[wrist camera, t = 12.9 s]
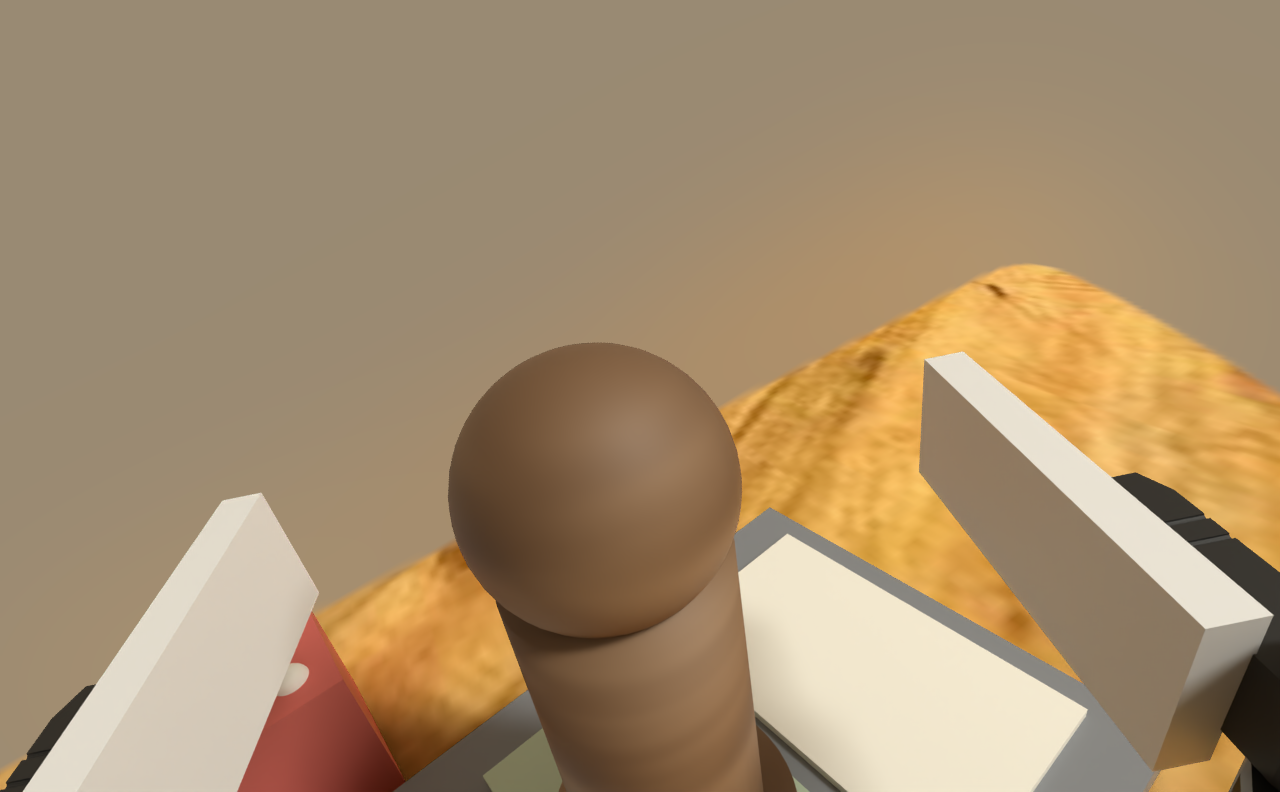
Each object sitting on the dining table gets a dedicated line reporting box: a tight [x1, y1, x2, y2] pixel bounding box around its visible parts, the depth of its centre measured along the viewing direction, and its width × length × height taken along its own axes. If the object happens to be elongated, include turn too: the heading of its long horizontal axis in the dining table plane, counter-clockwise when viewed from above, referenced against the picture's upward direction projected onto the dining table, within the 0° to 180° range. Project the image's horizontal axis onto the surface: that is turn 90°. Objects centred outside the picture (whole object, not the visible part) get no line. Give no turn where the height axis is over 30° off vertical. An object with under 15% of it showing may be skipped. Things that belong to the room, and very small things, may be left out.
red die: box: [237, 611, 405, 792], centre depth 18 cm, size 4×4×5 cm
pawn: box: [448, 343, 797, 792], centre depth 12 cm, size 5×5×12 cm
